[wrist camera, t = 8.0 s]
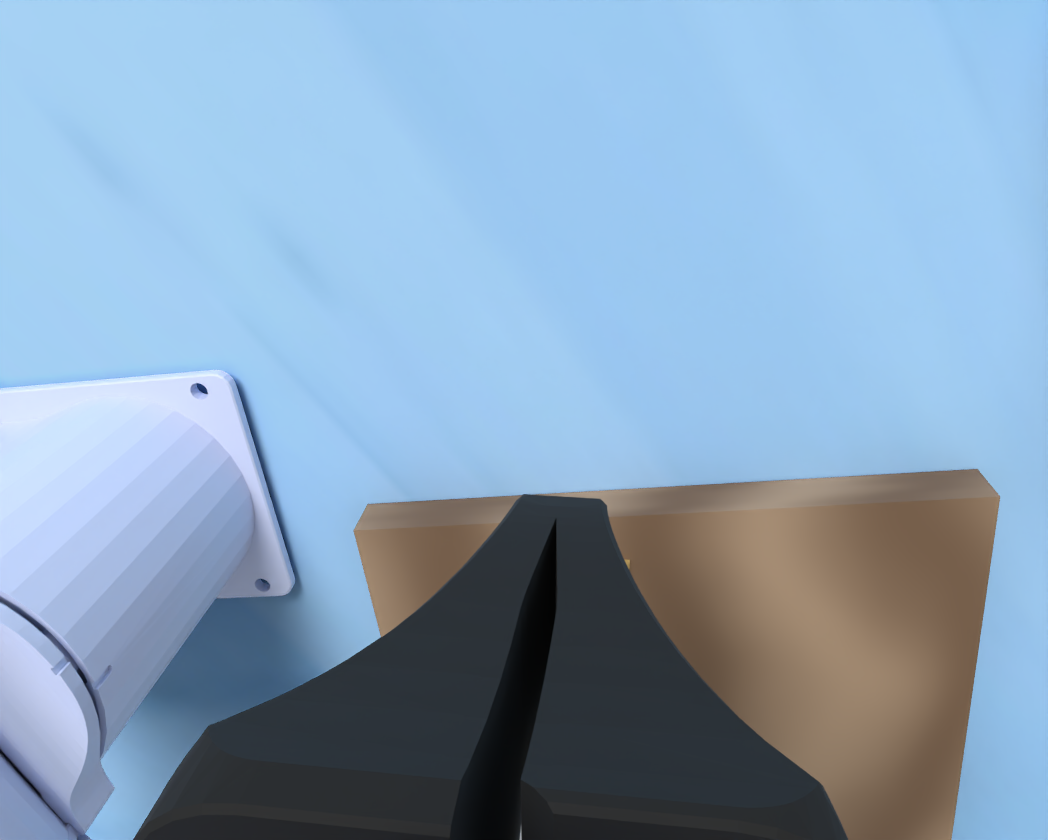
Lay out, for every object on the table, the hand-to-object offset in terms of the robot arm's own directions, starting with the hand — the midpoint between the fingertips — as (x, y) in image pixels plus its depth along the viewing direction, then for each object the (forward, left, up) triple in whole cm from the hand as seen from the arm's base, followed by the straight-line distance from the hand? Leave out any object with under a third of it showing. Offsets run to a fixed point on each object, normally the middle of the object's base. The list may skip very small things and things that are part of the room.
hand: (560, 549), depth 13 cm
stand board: (+2, -15, -10) cm, 18 cm away
